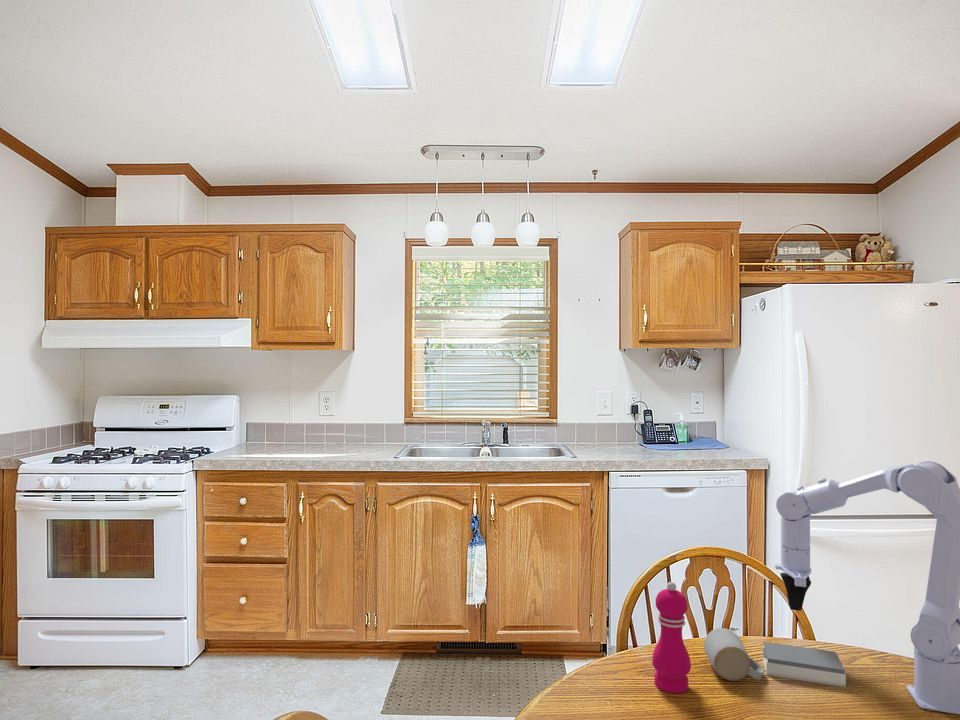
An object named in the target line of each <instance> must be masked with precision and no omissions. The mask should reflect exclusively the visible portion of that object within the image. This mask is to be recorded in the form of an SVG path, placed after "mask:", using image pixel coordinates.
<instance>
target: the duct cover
mask: <svg viewBox="0 0 960 720" xmlns="http://www.w3.org/2000/svg"><path fill="white" fill-rule="evenodd" d="M763 646H764V649H765V653H766V657H767V661H768V662H769V663H776V664H782V665H789V666H795V667H802V668H808V669H815V670H821V671H828V672H834V673H841V674H846V672H845V668H844V666H843V663H842V661H841V660H840V657H839V655H838V653H837V652H836V651H832V650H828V649H827V650H825V649H819V648H812V647H811V648H810V647H805V646H800V645H799V646H798V645H793V644H792V645H791V644H784V643H777V642H770V641H763Z"/></svg>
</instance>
